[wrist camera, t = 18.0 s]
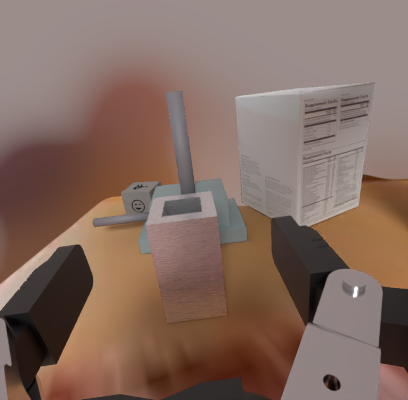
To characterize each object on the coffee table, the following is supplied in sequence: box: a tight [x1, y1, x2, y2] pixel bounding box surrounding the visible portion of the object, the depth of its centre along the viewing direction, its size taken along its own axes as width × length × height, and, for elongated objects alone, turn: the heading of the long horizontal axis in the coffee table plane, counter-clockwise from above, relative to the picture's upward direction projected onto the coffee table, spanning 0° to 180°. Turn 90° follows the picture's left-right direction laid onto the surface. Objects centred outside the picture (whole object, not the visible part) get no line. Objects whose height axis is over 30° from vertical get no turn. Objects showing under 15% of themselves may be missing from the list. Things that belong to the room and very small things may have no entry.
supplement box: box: [236, 82, 375, 227], centre depth 39 cm, size 13×13×18 cm
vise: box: [93, 91, 247, 254], centre depth 35 cm, size 21×10×19 cm, turn 93°
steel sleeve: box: [146, 191, 227, 323], centre depth 24 cm, size 5×5×10 cm
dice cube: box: [121, 181, 161, 215], centre depth 45 cm, size 5×5×5 cm
